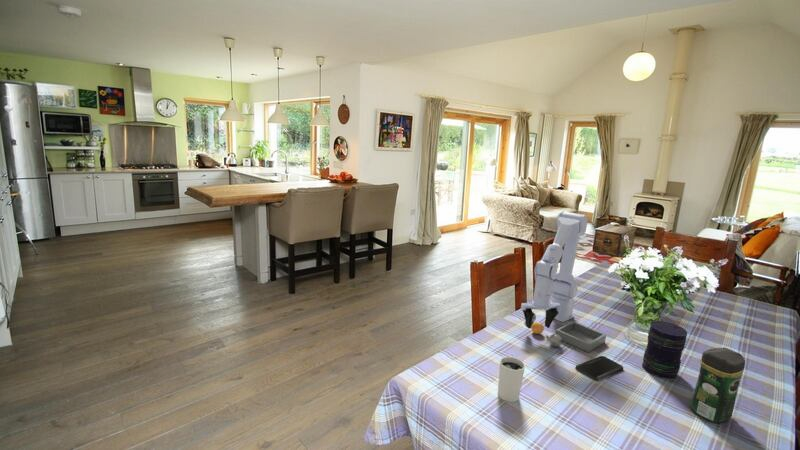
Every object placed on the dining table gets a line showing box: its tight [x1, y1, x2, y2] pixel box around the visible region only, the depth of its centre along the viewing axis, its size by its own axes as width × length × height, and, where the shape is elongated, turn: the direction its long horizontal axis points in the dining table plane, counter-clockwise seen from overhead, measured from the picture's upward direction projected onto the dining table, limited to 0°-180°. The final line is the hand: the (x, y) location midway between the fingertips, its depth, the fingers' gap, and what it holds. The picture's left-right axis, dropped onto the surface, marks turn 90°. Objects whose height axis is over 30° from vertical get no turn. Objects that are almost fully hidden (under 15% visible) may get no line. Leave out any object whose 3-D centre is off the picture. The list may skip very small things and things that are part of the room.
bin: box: [554, 320, 607, 354], centre depth 143 cm, size 13×13×3 cm
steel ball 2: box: [548, 333, 563, 348], centre depth 137 cm, size 4×4×4 cm
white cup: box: [497, 356, 526, 403], centre depth 108 cm, size 7×7×10 cm
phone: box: [575, 355, 625, 382], centre depth 125 cm, size 8×1×15 cm
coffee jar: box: [689, 346, 746, 424], centre depth 105 cm, size 10×8×19 cm
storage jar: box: [641, 320, 688, 380], centre depth 124 cm, size 10×10×15 cm
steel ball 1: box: [523, 312, 537, 324], centre depth 155 cm, size 4×4×4 cm
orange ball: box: [530, 321, 545, 335], centre depth 146 cm, size 4×4×4 cm
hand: (537, 326), depth 146 cm, fingers open, 7 cm apart
